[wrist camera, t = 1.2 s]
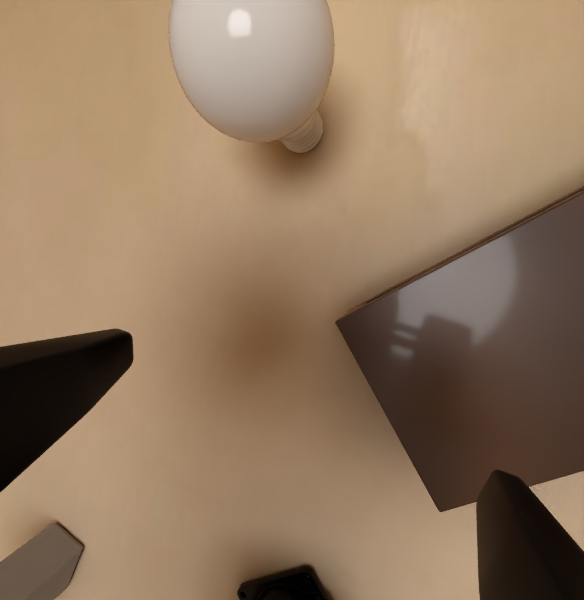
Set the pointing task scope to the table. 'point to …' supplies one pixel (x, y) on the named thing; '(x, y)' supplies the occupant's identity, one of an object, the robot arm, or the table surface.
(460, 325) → the shelf
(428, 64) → the table surface
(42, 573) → the vintage mobile phone
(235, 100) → the lightbulb
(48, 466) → the table surface
